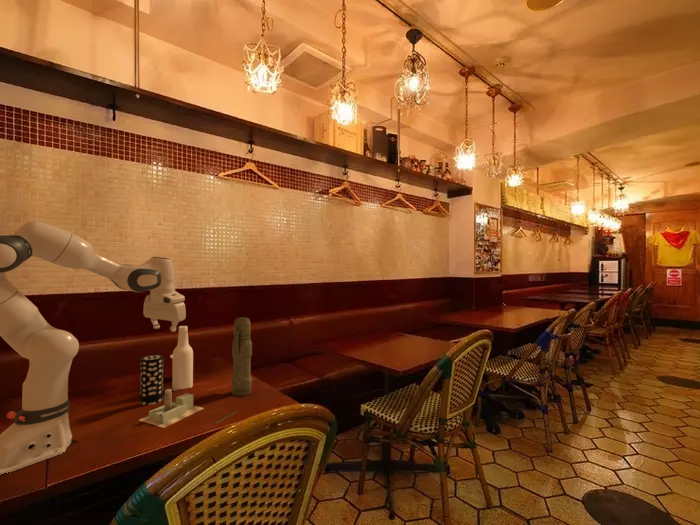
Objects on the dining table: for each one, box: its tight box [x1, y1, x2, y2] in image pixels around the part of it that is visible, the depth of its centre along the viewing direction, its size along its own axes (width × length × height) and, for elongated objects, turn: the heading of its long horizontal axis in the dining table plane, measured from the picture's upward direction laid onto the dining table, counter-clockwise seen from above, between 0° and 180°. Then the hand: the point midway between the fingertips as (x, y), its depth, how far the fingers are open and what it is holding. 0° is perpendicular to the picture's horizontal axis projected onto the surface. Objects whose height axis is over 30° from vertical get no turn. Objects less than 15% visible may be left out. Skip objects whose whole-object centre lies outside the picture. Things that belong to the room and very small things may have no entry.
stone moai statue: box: [231, 316, 253, 398], centre depth 158 cm, size 9×12×35 cm
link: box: [148, 392, 194, 424], centre depth 133 cm, size 15×8×5 cm, turn 156°
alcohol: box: [171, 325, 194, 392], centre depth 162 cm, size 9×9×30 cm
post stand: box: [138, 388, 205, 429], centre depth 132 cm, size 18×14×12 cm
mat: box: [212, 409, 238, 425], centre depth 135 cm, size 12×10×1 cm
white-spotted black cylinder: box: [139, 354, 164, 406], centre depth 144 cm, size 8×8×20 cm
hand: (164, 329), depth 138 cm, fingers open, 8 cm apart
